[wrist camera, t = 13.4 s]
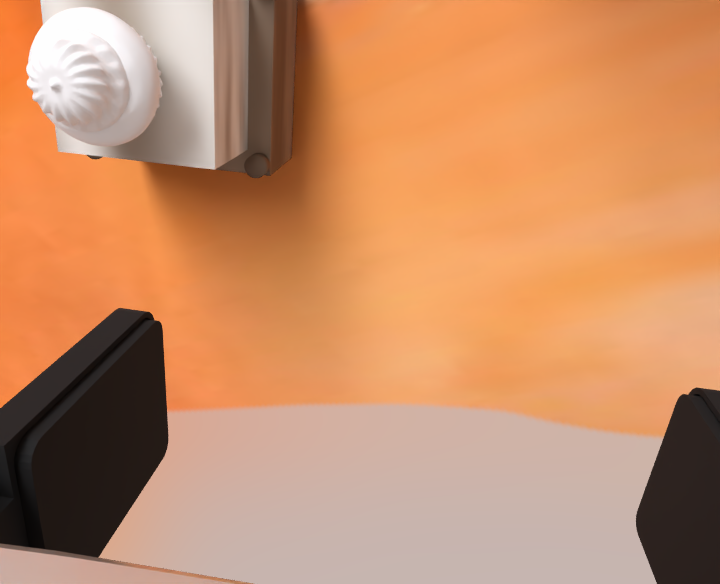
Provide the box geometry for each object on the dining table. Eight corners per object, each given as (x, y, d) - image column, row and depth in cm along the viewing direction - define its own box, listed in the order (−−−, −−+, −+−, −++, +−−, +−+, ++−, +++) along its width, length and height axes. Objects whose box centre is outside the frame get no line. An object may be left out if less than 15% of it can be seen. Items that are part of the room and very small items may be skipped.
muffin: (164, -5, 30) (88, -14, 23) (203, 121, 32) (143, 144, 25) (55, 26, 31) (-47, 24, 24) (100, 145, 33) (18, 172, 27)
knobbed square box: (298, -27, 39) (242, -48, 28) (291, 157, 44) (241, 199, 33) (122, -42, 40) (3, -69, 29) (134, 139, 45) (36, 174, 34)
